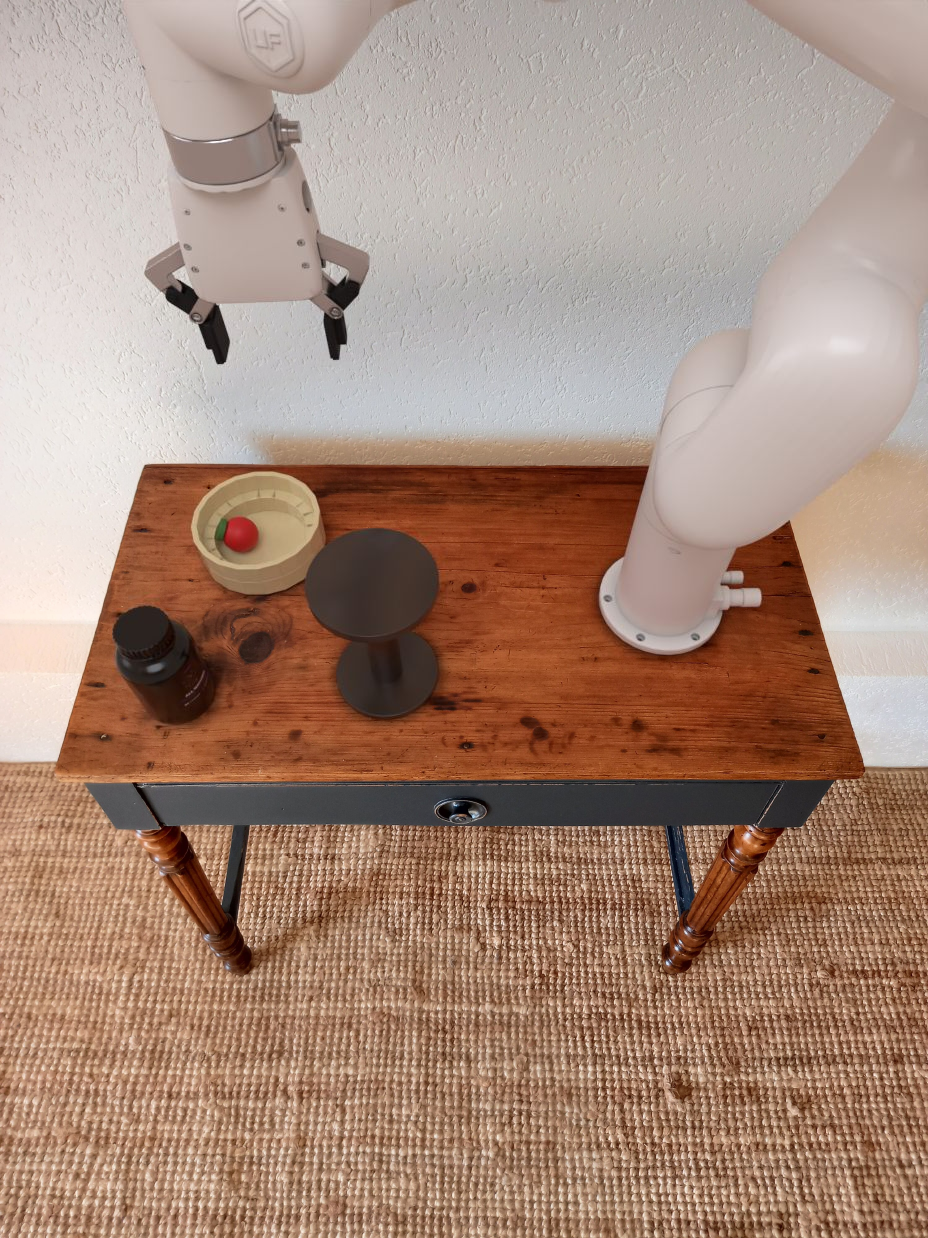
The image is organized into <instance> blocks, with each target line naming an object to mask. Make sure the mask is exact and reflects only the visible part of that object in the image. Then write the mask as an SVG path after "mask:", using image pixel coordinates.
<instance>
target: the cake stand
mask: <svg viewBox="0 0 928 1238" xmlns="http://www.w3.org/2000/svg"><path fill="white" fill-rule="evenodd" d="M439 573H440V572H439V569H438V565H437V562H436V560H435V558H434V556H433V554H432V553H431V552H430V551H429V549H428V548H427V546H425V545H424V544H423V543H421V541H419V540H417V538H415V537H413V536H412V535H409V534H407V533H405V532H402V531H399V530H396V529H392V528H385V527H369V528H362V529H355V530H353V531H349V532H346V533H344V534H342V535H340V536H338V537H336V538H334V539H332V540H331V541H329V542H328V543H327V544H325V547H323V548H322V549H321V550H320V551H319V552H318V553H317V555H316V556H315V557H314V559H313V560H312V562H311V564H310V566H309V568H308V571H307V574H306V578H305V579H304V592H305V597H306V602H307V605H308V607H309V608H308V609H309V610H310V613H311V614H312V616H313V617H314V619H315V620H316V621H317V623H318V624H319V625H320V626H321V627H322V628H323V629H325V630H326V631H327V632H329V633H330V634H331V635H334V636H336V637H338V638H340V639H342V640H346V641H349V642H350V643H349V644H348V645H347V646H346V647H345V649H344V650H343V652H342V653H341V654H340V656H339V659H338V661H337V665H336V669H335V670H336V671H335V679H336V685H337V689H338V692H339V694H340V696H341V698H342V699H343V700H344V702H345V704H347V706H349V708H351V710H353V711H354V712H356V713H357V714H360V715H362V716H363V717H366V718H369V719H373V720H374V719H375V720H378V721H379V720H381V721H389V720H396V719H401V718H404V717H407V716H409V715H411V714H413V713H415V712H416V711H418V710H419V709H421V708H422V707H423V706H425V704H426V703H427V702H428V701H429V700H430V698H431V697H432V696H433V694H434V692H435V690H436V687H437V686H438V685H437V684H438V680H439V666H438V665H439V664H438V659H437V657H436V653H435V652H434V650H433V648H432V647H431V645H430V644H429V643H428V642H427V641H425V639H423V638H422V637H421V636H419V635H418V634H417V633H414V632H413V630H415V629H416V628H418V627H419V626H420V625H421V624H422V623H423V622H424V621H426V620H427V619H428V617H429V616H430V614H431V613H432V611H433V610H434V608H435V606H436V603H437V601H438V597H439V595H440V594H439V593H440V574H439Z"/></svg>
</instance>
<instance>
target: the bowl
mask: <svg viewBox="0 0 928 1238" xmlns="http://www.w3.org/2000/svg"><path fill="white" fill-rule="evenodd" d="M317 499H318V498H317V497H316V495H315V494H314V492H313V491H312V490H311V489H310V488H309V486H308V485H307V484H306V483H304V482H302V481H301V480H299V479H298V478H295V477H293V476H292V475H288V474H284V473H281V472H276V471H252V472H248V473H243V474H238V475H235V476H233V477H231V478H228V479H226V480H225V481H223V482H221V483H218V484H217V485H216V486H215V487H213V488H212V489H211V490H210V491H209V492H207V493H206V494H205V495H204V496H203V497H202V499H201V500H200V501H199V503H198V505H197V506H196V508H195V509H194V511H193V516H192V521H191V524H190V530H191V535H192V539H193V543H194V545H195V548H196V549H197V552H198V555H199V557H200V558H201V559H200V560H201V561H202V564H203V565H204V567H205V569H206V570H207V572H208V573H209V575H210V576H211V578H212V579H213V580H214V581H215V582H216V583H218V584H220V585H221V586H223V587H224V588H226V589H227V590H228V591H233V592H237V593H239V594H243V595H270V594H273V593H277V592H278V593H279V592H282V591H285V590H287V589H289V588H291V587H293V586H294V585H296V584H298V583H300V582H302V581H304V580H305V579H306V574H307V571H308V568H309V566H310V564H311V562H312V560H313V559H314V557H315V556H316V555H317V553H318V552H319V551H320V550H321V549H322V548H323V547H325V546H326V542H327V541H326V540H327V534H326V530H325V527H324V521H323V517H322V513H321V509H320V505H319V503H318V500H317ZM234 517H245V518H248V519H250V520H251V521H252V522H254V524H255V525H256V526H257V529H258V532H259V538H258V541H257V543H256V545H255V546H254V547H253V548H252V549H251V550H249V551H246V552H235V551H233V550H231V549H229V548H228V547H227V546H226V545H225V543H224V541H223V540H222V541H219V540H216V534H217V529H218V526H219V522H220V520H221V518H224V519H227V521H228V520H230V519H232V518H234Z"/></svg>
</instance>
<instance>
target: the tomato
mask: <svg viewBox="0 0 928 1238" xmlns="http://www.w3.org/2000/svg"><path fill="white" fill-rule="evenodd" d="M258 538H259V532H258V529H257V526H256V525H255V524H254V522H252V521H251V520H250V519H248V518H245V517H234V518H232V519H230V520H228V521H227V519H224V518H221V520H220V522H219V526H218V529H217V534H216V540H219V541H222V540H223V541H224V543H225V545H226V546H227V547H228V548H229V549H231V550H233V551H235V552H246V551H249V550H251V549H252V548H253V547H254V546H255V545H256V543H257V541H258Z"/></svg>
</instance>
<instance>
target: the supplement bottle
mask: <svg viewBox="0 0 928 1238" xmlns="http://www.w3.org/2000/svg"><path fill="white" fill-rule="evenodd" d="M111 630H112V633H111V635H112V640H113V643H114V645H115V647H116V648H115V652H114V663H115V666H116V668H117V671H118V672H119V675H121V677H122V678H123V680H124V681H125V683H126V684H127V685H128V687H129V688H130V690H131V691H132V693H133V694H134V696H135V697H136V698H137V700H138V702H139V703H140V704H141V705H142V707H143V708H144V710H145V711H146V713H147V714H148V715H149V716H150V717H151V718H152V719H154V720H155V721H157V722H159V723H162V724H166V725H179V724H181V725H182V724H184V723H188V722H191V721H192V720H195V719H196V718H198V717H200V715H202V714H203V713H204V712H205V711H206V710H207V708H209V706H210V704H211V703H212V701H213V699H214V695H215V691H216V690H215V686H216V685H215V680H214V678H213V674H212V673H211V670H210V669H209V667H208V665H207V663H206V661H205V659H204V657H203V655H202V653H201V652H200V649H199V647H198V646H197V643H196V642H195V640H194V638H193V635H192V634H191V633H190V631H189V630H188V628H186V626H184V625H183V624H182V623H180V622H178V621H176V620H174V619H170V617H169V616H168V615H167V613H166V612H165V611H164V610H162V609H161V608H159V607H156V606H152V605H138V606H136V607H132V608H129V609H128V610H127V611H125V612H123V613H122V614H121V615H120V616H119V617H118V619H116V621H115V623H114V624H113V628H112V629H111Z"/></svg>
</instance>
